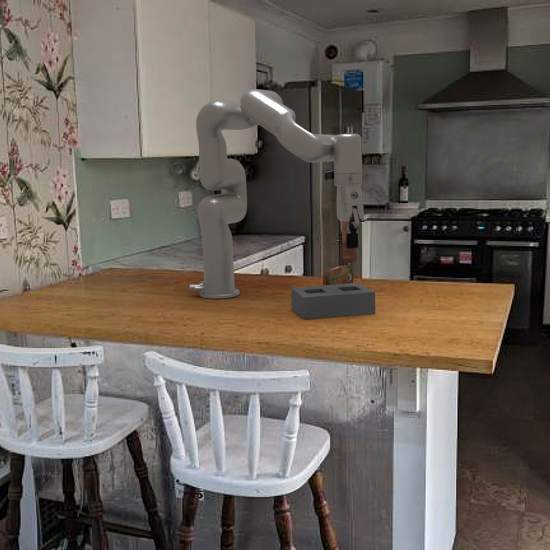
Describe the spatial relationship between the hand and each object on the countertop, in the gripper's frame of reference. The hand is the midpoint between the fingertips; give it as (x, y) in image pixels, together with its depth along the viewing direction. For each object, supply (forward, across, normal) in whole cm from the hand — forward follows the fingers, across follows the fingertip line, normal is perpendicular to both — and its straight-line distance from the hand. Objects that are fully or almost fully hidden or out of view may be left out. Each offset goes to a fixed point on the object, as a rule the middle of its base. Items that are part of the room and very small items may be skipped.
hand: (349, 246), depth 191 cm
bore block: (+18, 0, +5) cm, 19 cm away
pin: (+4, 0, 0) cm, 4 cm away
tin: (+18, +23, -4) cm, 30 cm away
